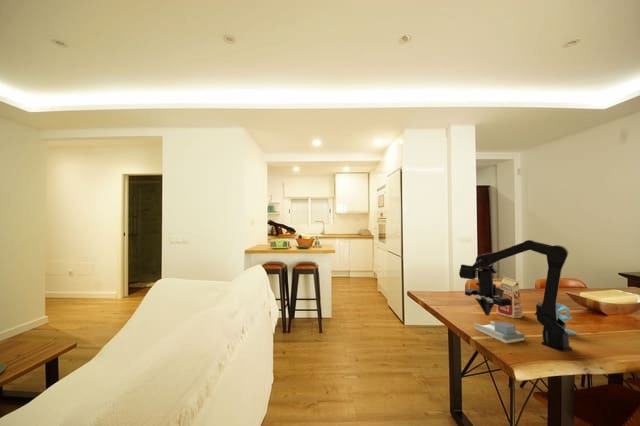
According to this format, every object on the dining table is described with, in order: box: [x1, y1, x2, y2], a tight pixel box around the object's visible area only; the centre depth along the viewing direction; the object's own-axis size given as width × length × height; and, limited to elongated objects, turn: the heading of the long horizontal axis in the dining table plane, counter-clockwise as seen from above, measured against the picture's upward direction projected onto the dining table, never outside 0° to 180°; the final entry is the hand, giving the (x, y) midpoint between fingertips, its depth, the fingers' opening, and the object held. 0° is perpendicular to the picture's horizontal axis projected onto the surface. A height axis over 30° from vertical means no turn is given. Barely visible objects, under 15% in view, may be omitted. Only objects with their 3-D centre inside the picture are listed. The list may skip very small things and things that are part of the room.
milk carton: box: [496, 275, 523, 319], centre depth 125 cm, size 9×9×20 cm
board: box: [474, 320, 525, 344], centre depth 101 cm, size 14×10×2 cm
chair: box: [557, 303, 577, 336], centre depth 104 cm, size 8×8×12 cm
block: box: [494, 321, 517, 335], centre depth 98 cm, size 5×5×4 cm
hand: (487, 315), depth 108 cm, fingers closed
